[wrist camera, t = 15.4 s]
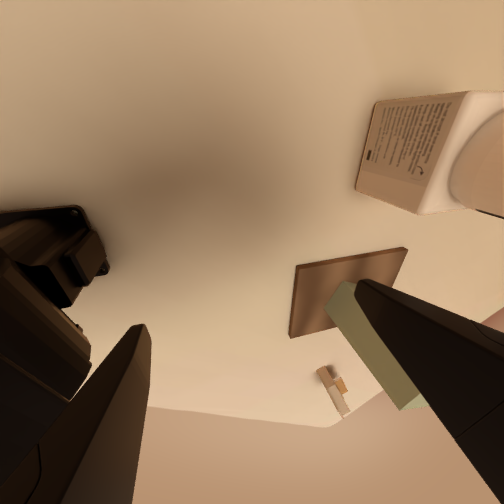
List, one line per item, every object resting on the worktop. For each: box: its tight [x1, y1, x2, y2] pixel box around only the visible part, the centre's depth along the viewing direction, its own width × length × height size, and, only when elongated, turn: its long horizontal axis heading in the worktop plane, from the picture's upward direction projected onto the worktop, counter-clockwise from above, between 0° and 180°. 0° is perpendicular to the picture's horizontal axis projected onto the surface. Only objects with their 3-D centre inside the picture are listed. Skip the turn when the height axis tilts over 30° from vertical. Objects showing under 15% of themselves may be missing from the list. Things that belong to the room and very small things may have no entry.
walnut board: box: [289, 247, 408, 339], centre depth 30 cm, size 16×13×1 cm
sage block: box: [324, 281, 429, 410], centre depth 25 cm, size 5×5×13 cm
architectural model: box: [317, 366, 350, 419], centre depth 40 cm, size 3×7×8 cm, turn 26°
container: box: [356, 91, 504, 219], centre depth 16 cm, size 8×8×13 cm
